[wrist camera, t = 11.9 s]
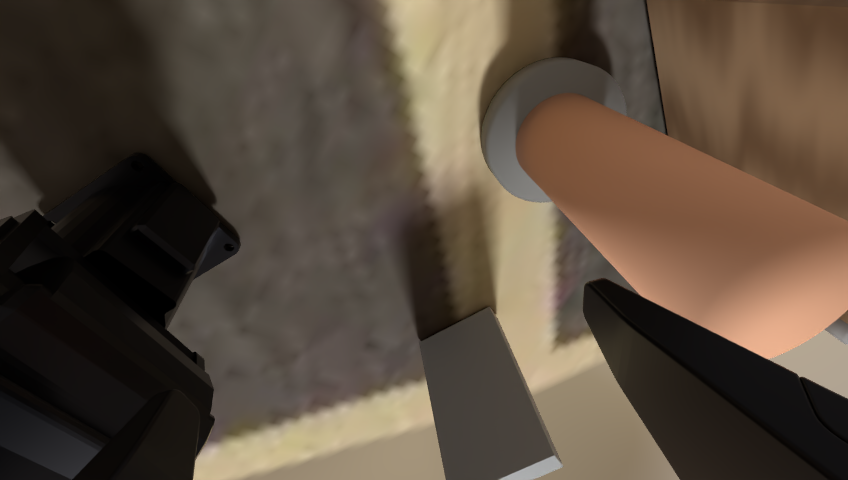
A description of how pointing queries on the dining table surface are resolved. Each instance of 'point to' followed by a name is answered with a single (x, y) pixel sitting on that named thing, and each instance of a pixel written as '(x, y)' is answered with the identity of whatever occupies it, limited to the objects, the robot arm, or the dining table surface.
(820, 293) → the door stop
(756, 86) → the door
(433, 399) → the door frame
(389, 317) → the dining table surface
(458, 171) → the dining table surface
